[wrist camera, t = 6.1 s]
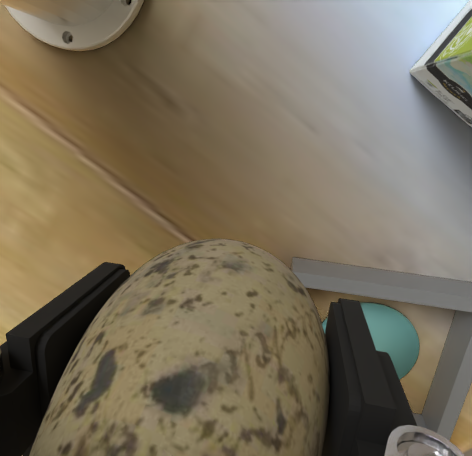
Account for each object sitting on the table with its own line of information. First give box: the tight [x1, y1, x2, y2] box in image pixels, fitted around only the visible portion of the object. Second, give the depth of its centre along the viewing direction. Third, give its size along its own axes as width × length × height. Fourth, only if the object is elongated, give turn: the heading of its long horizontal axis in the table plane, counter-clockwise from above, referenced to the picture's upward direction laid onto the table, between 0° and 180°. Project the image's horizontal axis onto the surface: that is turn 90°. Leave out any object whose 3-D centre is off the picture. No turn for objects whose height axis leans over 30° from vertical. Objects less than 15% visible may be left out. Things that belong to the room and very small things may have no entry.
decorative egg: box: [29, 239, 330, 456], centre depth 8 cm, size 6×6×10 cm
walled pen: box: [291, 257, 472, 441], centre depth 31 cm, size 15×15×3 cm
